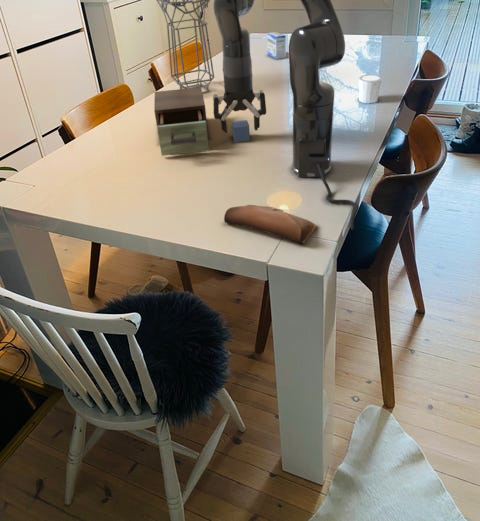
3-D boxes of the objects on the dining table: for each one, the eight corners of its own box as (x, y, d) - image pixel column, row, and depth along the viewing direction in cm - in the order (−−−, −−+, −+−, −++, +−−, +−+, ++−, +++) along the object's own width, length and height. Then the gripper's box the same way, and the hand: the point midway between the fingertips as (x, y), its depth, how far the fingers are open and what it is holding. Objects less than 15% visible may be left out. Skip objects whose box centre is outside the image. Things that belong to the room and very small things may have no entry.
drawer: (210, 157, 131) (207, 128, 126) (161, 162, 130) (157, 133, 125) (204, 129, 146) (202, 102, 141) (161, 134, 145) (157, 107, 141)
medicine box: (267, 55, 208) (266, 33, 203) (276, 53, 209) (276, 31, 204) (276, 59, 202) (275, 36, 197) (286, 57, 203) (285, 35, 198)
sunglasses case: (319, 223, 104) (313, 207, 98) (306, 252, 102) (299, 238, 96) (243, 204, 112) (233, 188, 106) (230, 231, 110) (220, 217, 104)
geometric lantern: (179, 101, 170) (164, -16, 149) (167, 88, 181) (151, -22, 160) (223, 92, 174) (214, -23, 153) (208, 80, 186) (197, -28, 165)
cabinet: (208, 139, 143) (205, 105, 137) (159, 144, 142) (154, 110, 136) (204, 118, 156) (201, 87, 150) (159, 123, 155) (154, 91, 149)
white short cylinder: (354, 102, 159) (356, 80, 155) (360, 95, 164) (362, 73, 160) (376, 105, 156) (378, 82, 152) (381, 97, 161) (384, 75, 157)
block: (250, 140, 140) (249, 125, 138) (234, 142, 140) (233, 127, 137) (247, 134, 144) (247, 119, 141) (232, 136, 143) (231, 121, 141)
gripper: (211, 78, 128) (216, 138, 138) (267, 73, 129) (268, 133, 138) (209, 69, 134) (214, 128, 143) (262, 65, 135) (263, 123, 144)
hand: (240, 130), depth 141 cm, fingers open, 8 cm apart
